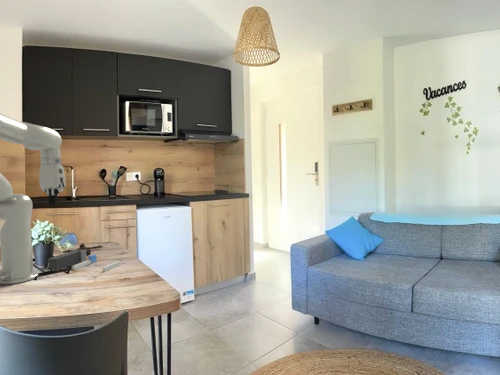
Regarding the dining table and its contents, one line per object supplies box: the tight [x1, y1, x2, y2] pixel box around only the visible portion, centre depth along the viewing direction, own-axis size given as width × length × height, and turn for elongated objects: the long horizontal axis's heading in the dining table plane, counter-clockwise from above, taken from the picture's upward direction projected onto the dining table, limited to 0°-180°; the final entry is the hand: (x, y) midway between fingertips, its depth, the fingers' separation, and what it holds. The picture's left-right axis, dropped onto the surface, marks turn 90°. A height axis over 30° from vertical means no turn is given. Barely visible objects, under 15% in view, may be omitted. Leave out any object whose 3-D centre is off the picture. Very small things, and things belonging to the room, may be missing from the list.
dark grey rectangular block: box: [47, 248, 88, 271], centre depth 144 cm, size 16×5×5 cm, turn 165°
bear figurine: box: [62, 242, 104, 256], centre depth 167 cm, size 18×4×14 cm
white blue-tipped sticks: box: [72, 254, 122, 272], centre depth 144 cm, size 12×29×3 cm, turn 75°
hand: (53, 204), depth 151 cm, fingers closed
